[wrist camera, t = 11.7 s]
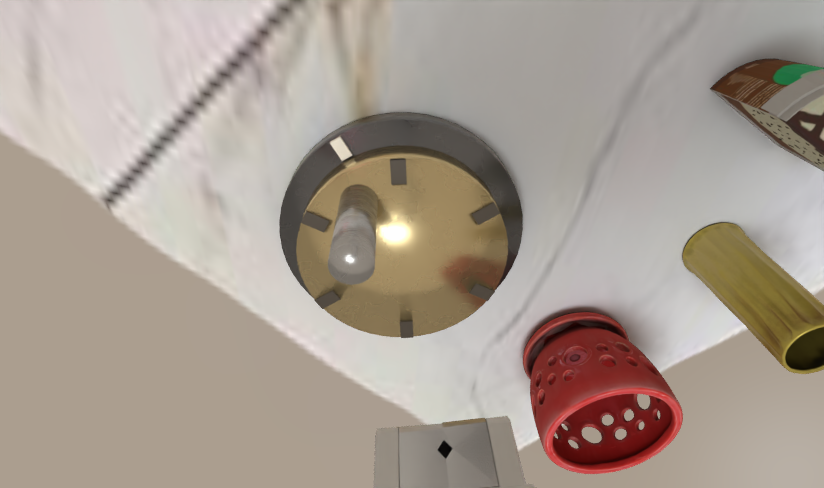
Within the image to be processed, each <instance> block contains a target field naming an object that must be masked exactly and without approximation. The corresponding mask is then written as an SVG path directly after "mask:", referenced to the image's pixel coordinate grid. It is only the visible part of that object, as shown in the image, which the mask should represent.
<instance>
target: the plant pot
mask: <svg viewBox="0 0 824 488" xmlns="http://www.w3.org/2000/svg"><path fill="white" fill-rule="evenodd" d="M523 365H524V369H525V372H526V374H527V376H528V377H529V378H530V380H531V383H530V396H531V404H532V410H533V415H534V419H535V423H536V427H537V430H538V434H539V437H540V440H541V442H542V445H543V448H544V451H545V452H546V454H547V456H548V457H549V458H550V459H551V460H552V461H553V462H554V463H555V464H557V465H558V466H560V467H562V468H564V469H566V470H569V471H573V472H577V473H584V474H600V473H609V472H615V471H619V470H623V469H627V468H629V467H633V466H635V465H638V464H640V463H642V462H644V461H646V460H648V459H650V458H651V457H653V456H655V455H656V454H658V453H659V452H660V451H662V450H663V449H664V448H665V447H666V446H667V445H669V444H670V443H671V441H672V440H673V439H674V438H675V436H676V435H677V433H678V432H679V430H680V428H681V425H682V420H683V414H682V409H681V406H680V404H679V402H678V400H677V399H676V397H675V395H674V394H673V392H672V390H671V389H670V387H669V386H668V384H667V383H666V381H665V380H664V378H663V377H662V375H661V374H660V373H659V371H658V370H657V369H656V367H655V366H654V365H653V364H652V363H651V362H650V361H649V359H648V358H647V357H646V356H645V355H644V354H643V353H642V352H641V351H640V350H639V349H638V348H637V347H636V346H634V345H633V344H632V343H630V342H629V340H628V336H627V334H626V332H625V330H624V329H623V327H622V326H621V325H620V324H619V323H618V322H616V321H615V320H613V319H612V318H610V317H607V316H605V315H601V314H598V313H591V312H579V313H571V314H567V315H563V316H560V317H558V318H555V319H553V320H551V321H549V322H548V323H546V324H545V325H543V326H542V327H541V328H540V329H539V330H538V331H536V333H535V334H534V335H533V336H532V337H531V339H530V340H529V342H528V343H527V345H526V348H525V350H524V355H523ZM637 394H645V395H649V397H650V406H649V407H648V409H646V410H644V409H642V408H641V407H640V406H639V405H638V402H637ZM628 409H631V410H632V411H633V413H634V418H633V419H632V420H630V421H626V420H625V418H624V413H625V412H626V411H627V410H628ZM658 410H659V411H660V419H658V416H657V412H658ZM607 414H609V415H611V416H612V417H613V418H614V422H613V424H611V425H609V426H606V425H604V424H603V423H602V417H603V416H604V415H607ZM641 421H643V422H644V424H645V426H644V428H643V429H642V430H639V423H640V422H641ZM561 424H565V425H566V426H567V428H568V431H566V430H565V429H563V427H562V426H561ZM584 427H593V428H596V429H597V430H598V431H599V432H600V433H601V435H602V440H601V441H600V442H599V443H591V442H589V441H587V440H585V439H584V438H583V437H582V432H581V431H582V429H583V428H584ZM621 428H622V429H625V430H626V432H627V435H626V437H625V438H624V439H622V440H618V439H616V437H615V432H616V430H618V429H621ZM555 432H556V434H557V436H558V439H557V438H555V437H554V434H555ZM570 439H571V440H573V441H575V442H576V443H577V444H578V447H579V448H578V449H575V448H573V447H571V446H570V444H569V443H568V440H570Z"/></svg>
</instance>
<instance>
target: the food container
mask: <svg viewBox="0 0 824 488" xmlns="http://www.w3.org/2000/svg"><path fill="white" fill-rule="evenodd" d="M710 89H711V90H712V91H713V92H715V93H716V94H717V95H718V96H719V97H721V98H722V99H723V100H724V101H725V102H727V103H728V104H729V105H730V106H731V107H733V108H734V109H735V110H736V111H737V112H738V113H740V114H741V115H742V116H743V117H744V118H746V119H747V120H748V121H749V122H750V123H752V124H753V125H754V126H755V127H756V128H758V129H759V130H760V131H761V132H762V133H764V134H765V135H766V136H767V137H768V138H770V139H771V140H772V141H773V142H774V143H776V144H777V145H778V146H779V147H781V148H783V149H785V150H787V151H788V152H790V153H792V154H794V155H795V156H797V157H799V158H801V159H803V160H804V161H806V162H808V163H810V164H812V165H813V166H815V167H817V168H819V169H820V170H822V171H824V68H822V67H816V66H811V65H806V64H800V63H795V62H790V61H784V60H779V59H762V60H756V61H753V62H750V63H746V64H744V65H742V66H740V67H738V68H736V69H734V70H733V71H731V72H729V73H728V74H726V75H725V76H724V77H723V78H721V79H720V80H719V81H718V82H717V83H716V84H715V85H714V86H713V87H711V88H710Z"/></svg>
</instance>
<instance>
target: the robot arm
mask: <svg viewBox="0 0 824 488" xmlns="http://www.w3.org/2000/svg"><path fill="white" fill-rule="evenodd" d="M374 464H375V465H374V488H536V487H535V486H534V485H533V484H526V482H525V478H524V474H523V470H522V466H521V462H520V458H519V454H518V450H517V446H516V442H515V438H514V434H513V430H512V426H511V422H510V420H509V418H508V417H507V416H502V417H494V418H486V419H485V418H479V419H470V420H461V421H453V422H444V423H442V424H430V425H418V426H404V427H392V428H381V429H377V431H376V436H375V462H374Z"/></svg>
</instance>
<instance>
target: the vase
mask: <svg viewBox="0 0 824 488" xmlns="http://www.w3.org/2000/svg"><path fill="white" fill-rule="evenodd" d="M683 262H684V265H685V267H686V268H687V269H688V270H689V271H691V272H692V273H694V274H695V275H696V276H697V277H698V278H699V279H700V280H701V281H702V282H703V283H704V284H705V285H706V286H707V287H708V288H709V289H710V290H711V291H712V292H713V293H714V294H715V295H716V296H717V297H718V299H719V300H720V301H721V302H722V303H723V304H724V305H725V306H726V307H727V308H728V309H729V310H730V311H731V312H732V313H733V314H734V315H735V316H736V317H737V318H738V319H739V320H740V321H741V322H742V323H743V324H744V325H746V327H747V328H748V329H749V330H750V331H751V332H752V333H753V335H754V336H755V337H756V338H757V339H758V340H759V341H760V342H761V343H762V344H763V345H764V346H765V347H766V348H767V349H768V351H769V352H770V353H771V354H772V355H773V356H774V357H775V358H776V359H777V360H778V361H779V362H780V364H781V365H782V366H784V368H786V369H787V370H788V371H790V372H793V373H799V374H809V373H814V372H818V371H821V370H823V369H824V305H823V304H822V303H821V302H819V301H818V300H817V299H816V298H815V297H814V296H813V295H812V294H811V293H810V292H809V291H808V290H806V289H805V288H804V287H803V286H802V285H801V284H799V283H798V282H797V281H796V280H795V279H794V278H793V277H792V276H790V275H789V274H788V273H787V272H786V271H785V270H784V269H782V268H781V267H780V266H779V265H778V264H777V263H775V262H774V261H773V260H772V259H771V258H770V257H768V256H767V255H766V254H765V253H764V252H763V251H762V250H761V249H760V248H759V247H758V246H757V245H756V244H754V243H753V242H752V241H751V240H750V239H749V238H748V237H747V236H746V235H745V233H744V231H743V230H742V229H741V228H740V227H739V226H737V225H735V224H730V223H718V224H714V225H710V226H708V227H706V228H704V229H702V230H700V231H699V232H697V233H696V234H695V235H694V236H693V237H692V238H691V239H690V240H689V241H688V243H687V244H686V246H685V249H684V252H683Z"/></svg>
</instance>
